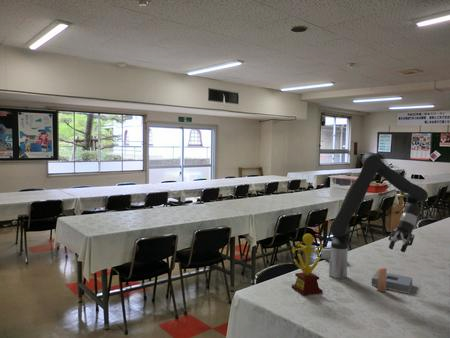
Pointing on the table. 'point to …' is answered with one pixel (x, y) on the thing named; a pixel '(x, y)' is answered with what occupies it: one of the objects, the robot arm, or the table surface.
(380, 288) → the peg
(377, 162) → the robot arm
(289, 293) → the table surface
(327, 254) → the hinge
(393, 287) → the socket block
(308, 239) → the trophy
